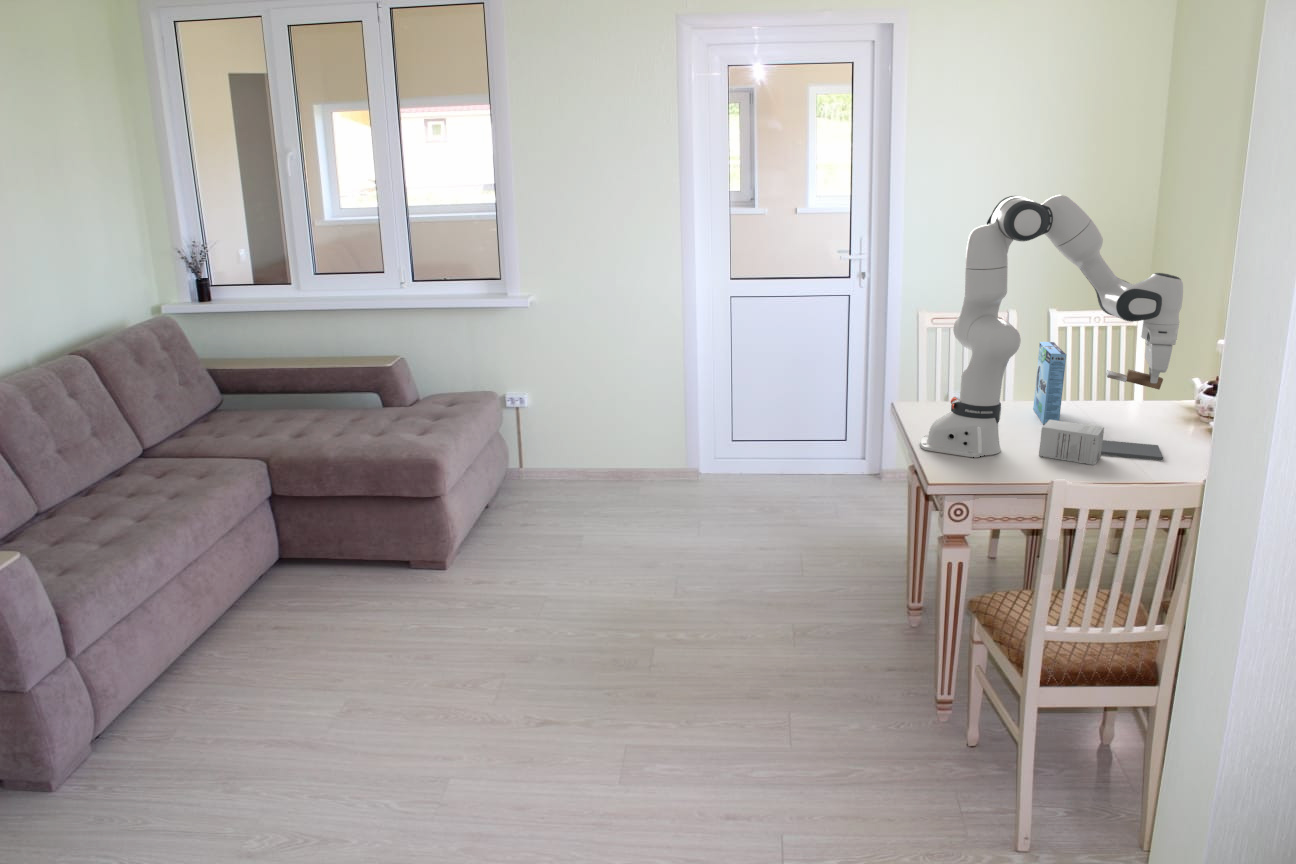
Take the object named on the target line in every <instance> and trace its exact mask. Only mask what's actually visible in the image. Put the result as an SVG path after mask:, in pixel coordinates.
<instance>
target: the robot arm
mask: <svg viewBox="0 0 1296 864" xmlns="http://www.w3.org/2000/svg"><path fill="white" fill-rule="evenodd" d="M1043 235H1045V236H1046V237H1047V238H1048V239H1049V240H1050V242H1051V243H1052V244H1053V246H1054V247H1055V248H1056V249H1057V250H1058V251H1059V252H1060V253H1061V255H1062V256H1064V257H1065V258H1066V259H1067V260H1068V261H1069V262H1071V263H1072V264H1074V265H1075V266H1076V267H1077V269H1079V270H1080V271H1081V273H1082V274H1083V275H1084V277H1085V278H1086V279H1087V281H1088V282H1089V283H1090V285H1091V286H1092V287H1093V289H1094V291H1095V294H1096V298H1097V301H1098V305H1099V307H1100V309H1101V310H1102V311H1103V312H1104V313H1105V314H1107V315H1109V316H1113V317H1116V318H1118V319H1121V320H1123V321H1126V322H1132V323H1133V322H1139V321H1140V322H1143V323H1142V329H1141V335H1140V337H1141V339H1143V340H1145V344H1146V345H1145V350H1144V351H1145V352H1144V358H1145V360H1146V362H1147V364H1148V374H1149V375H1151V376H1150V382H1151V383H1155V384H1156V383H1157V382H1158V377H1160V373H1166V372H1167V370H1168V368H1169V364H1170V360H1171V356H1172V351H1173V347H1174V346H1175V345H1176V343H1177V340H1178V334H1179V325H1180V312H1181V310H1182V308H1183V307H1182V306H1183V298H1184V283H1183V279H1182V278H1180V277H1179V276H1176V275H1172V274H1168V273H1163V272H1155V273H1153V274H1151V275H1150V276H1149V277H1147V278H1146V279H1143V280H1142V281H1139V282H1136V283H1133V284H1132V283H1130V282H1128V281H1126V280H1124V279H1121V278H1120V277H1118V276H1117V275H1116V274H1115V273H1114V272H1113V270H1112V269H1111V268H1110V266H1109V265H1108V264H1107V262H1106V261H1105V260H1104V258H1103V257H1102V255H1101V252H1100V251H1101V249H1102V247H1103V242H1104V239H1103V236H1102V234H1101V231H1100V230H1099V228H1098V226H1097V225H1096V223H1094V221H1093V220H1092V219H1091V218H1090V216H1089V215H1088V214H1087V213H1086V212H1085V210H1084V209H1082V208H1081V206H1080V205H1078V204H1077V203H1076V202H1074V201H1073V200H1072V199H1071V198H1070V197H1068V196H1067V195H1064V194H1063V195H1062V194H1058V195H1055V196H1051V197H1050V198H1048V199H1046V200H1045V201H1044V202H1042V203H1039V202H1036V201H1034V200H1031V199H1030V198H1029V197H1028V198H1027V197H1024V196H1020V195H1010V196H1007V197H1004V198H1003V199H1001V200H999V202H998V203H997V204H996V205H995V207H994V208H993V210H992V212H991V214H990V216H989V218H988V219H987V221H986V224H984V225H983V224H982V225H980V226H978V227H977V226H976V227H975V228H974V229H973V230H971V232H970V234H969V235H968V241H967V243H966V244H967V245H966V250H965V251H966V252H965V268H964V269H965V272H964V274H965V275H964V279H965V281H964V283H965V285H964V299H963V303H962V307H961V312H960V314H959V316H958V317H957V318H956V320H955V322H954V324H953V329H952V330H953V335H954V338H955V339H956V340H957V341H958V343H959V344H961V346H962V347H964V348H966V349H968V350H970V351H971V357H970V361H969V363H968V365H967V367H966V368H965V370H963V372H962V374H961V379H960V389H959V398H957V397H954V396H953V397H952V398H951V399H950V404H951V406H950V411H949V412H948V413H946V414H945V415H942V416H941V417H940V418H938V419H936V420H934V421H933V423H932V424H931V426H930V428H929V431H928V434H926V435H924V436H922V438H920V441H919V446H920V448H921V449H922V450H924V451H928V452H937V453H941V454H948V455H954V456H960V457H961V456H962V457H967V458H973V457H974V459H975V458H980V456H981V457H984V455H985V456H992V455H996V454H999V453H1000V452H1001V451H1002V449H1001V444H1000V437H999V422H1000V420H1001V414H1002V403H1001V402H1000V400H1001V393H1002V385H1003V384H1002V383H1003V378H1004V374H1005V370H1006V368H1007V366H1008V363H1009V361H1010V359H1011V358H1012V357H1013V356H1014V355H1015V354H1016V353H1017V352H1018V350H1019V349H1020V346H1021V343H1022V342H1021V341H1022V340H1021V335H1020V333H1019V331H1018V330H1017V329H1016V328H1015V327H1014V325H1013V324H1011V323H1010V322H1009V321H1006V320H1004V319H1001V318H999V311H1000V307H1001V303H1002V301H1003V300H1004V298H1005V297H1006V296H1007V293H1008V270H1009V269H1008V261H1009V258H1008V253H1009V249H1010V246H1011V244H1012V242H1013V241H1016V242H1029V241H1032V240H1034V239H1036V238H1038V237H1040V236H1043Z"/></svg>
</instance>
